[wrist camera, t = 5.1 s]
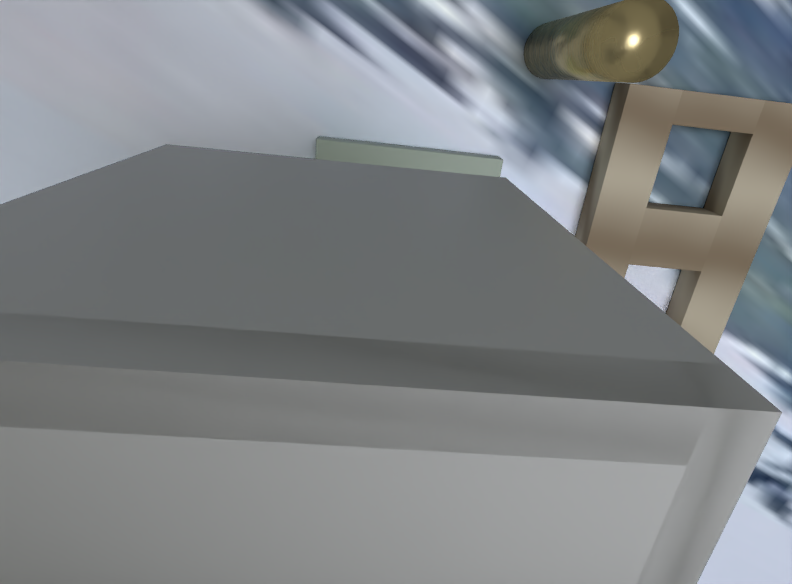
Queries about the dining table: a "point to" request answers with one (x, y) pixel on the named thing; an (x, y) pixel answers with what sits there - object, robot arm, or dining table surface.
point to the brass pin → (605, 43)
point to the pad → (407, 157)
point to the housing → (345, 386)
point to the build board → (680, 225)
